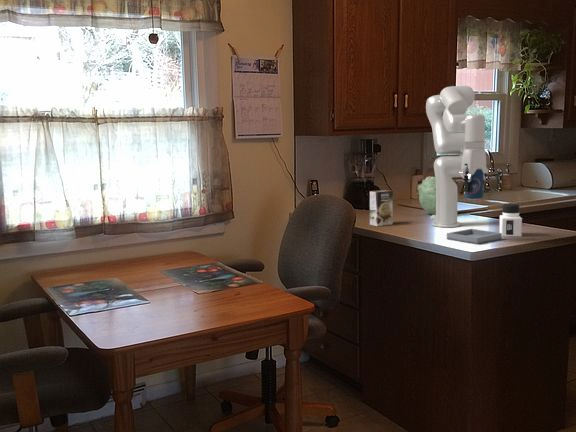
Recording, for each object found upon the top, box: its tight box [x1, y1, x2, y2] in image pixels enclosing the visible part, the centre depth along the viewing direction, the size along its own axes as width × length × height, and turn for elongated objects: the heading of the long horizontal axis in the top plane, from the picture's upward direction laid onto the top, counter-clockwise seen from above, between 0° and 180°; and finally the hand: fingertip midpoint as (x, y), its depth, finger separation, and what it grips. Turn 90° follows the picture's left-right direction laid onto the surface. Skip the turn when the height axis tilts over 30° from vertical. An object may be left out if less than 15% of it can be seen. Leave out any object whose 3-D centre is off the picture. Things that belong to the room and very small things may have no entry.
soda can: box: [464, 169, 485, 201], centre depth 245 cm, size 7×7×12 cm
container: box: [498, 202, 523, 237], centre depth 253 cm, size 8×8×13 cm
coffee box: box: [369, 189, 394, 227], centre depth 289 cm, size 9×6×16 cm
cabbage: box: [417, 175, 436, 216], centre depth 313 cm, size 16×19×20 cm
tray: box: [446, 228, 503, 245], centre depth 247 cm, size 15×15×2 cm
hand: (474, 190), depth 245 cm, fingers closed on soda can, 7 cm apart
